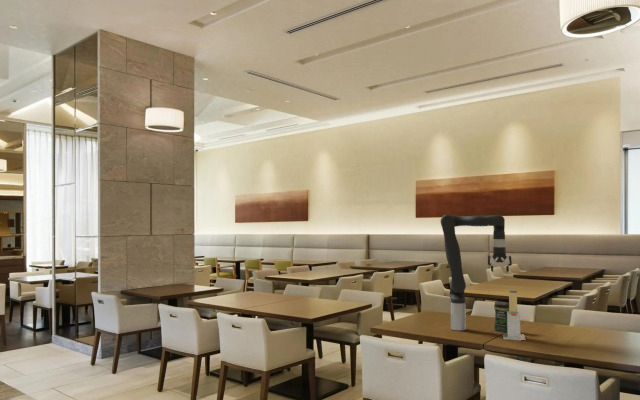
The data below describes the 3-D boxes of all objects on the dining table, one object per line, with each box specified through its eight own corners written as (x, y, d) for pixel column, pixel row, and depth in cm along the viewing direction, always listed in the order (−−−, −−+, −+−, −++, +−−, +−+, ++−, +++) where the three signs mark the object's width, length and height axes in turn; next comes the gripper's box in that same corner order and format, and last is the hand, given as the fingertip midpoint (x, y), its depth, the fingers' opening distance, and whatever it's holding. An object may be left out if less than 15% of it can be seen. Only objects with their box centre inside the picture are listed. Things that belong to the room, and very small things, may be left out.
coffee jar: (492, 330, 307) (492, 301, 308) (497, 329, 313) (496, 300, 314) (508, 333, 301) (507, 303, 302) (512, 331, 307) (511, 301, 308)
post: (509, 326, 286) (509, 291, 287) (509, 324, 290) (508, 290, 292) (517, 326, 285) (516, 291, 286) (517, 325, 289) (516, 290, 290)
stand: (503, 339, 283) (502, 313, 284) (503, 335, 295) (502, 310, 296) (525, 340, 279) (524, 314, 280) (524, 336, 291) (523, 311, 292)
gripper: (487, 246, 303) (487, 272, 302) (511, 246, 298) (512, 272, 297) (487, 246, 310) (488, 271, 309) (511, 246, 305) (511, 271, 304)
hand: (499, 272), depth 303 cm, fingers open, 8 cm apart
